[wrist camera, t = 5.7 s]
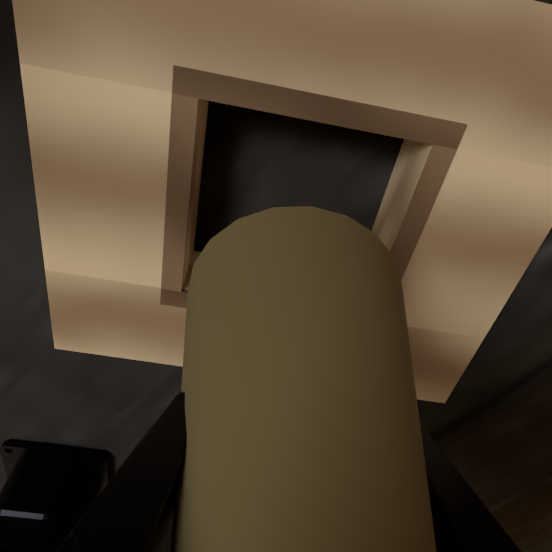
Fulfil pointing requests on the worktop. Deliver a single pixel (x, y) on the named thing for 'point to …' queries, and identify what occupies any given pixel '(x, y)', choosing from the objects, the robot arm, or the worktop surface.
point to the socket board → (294, 103)
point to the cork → (299, 394)
